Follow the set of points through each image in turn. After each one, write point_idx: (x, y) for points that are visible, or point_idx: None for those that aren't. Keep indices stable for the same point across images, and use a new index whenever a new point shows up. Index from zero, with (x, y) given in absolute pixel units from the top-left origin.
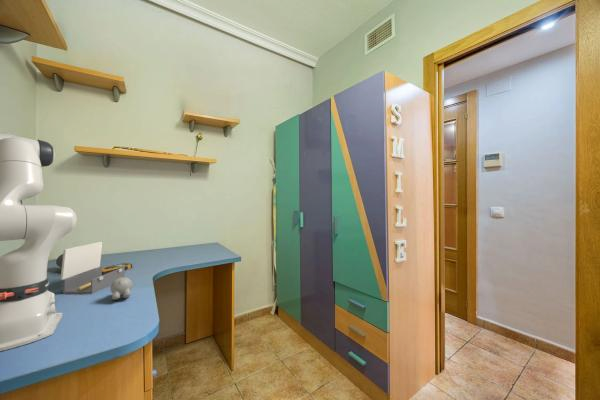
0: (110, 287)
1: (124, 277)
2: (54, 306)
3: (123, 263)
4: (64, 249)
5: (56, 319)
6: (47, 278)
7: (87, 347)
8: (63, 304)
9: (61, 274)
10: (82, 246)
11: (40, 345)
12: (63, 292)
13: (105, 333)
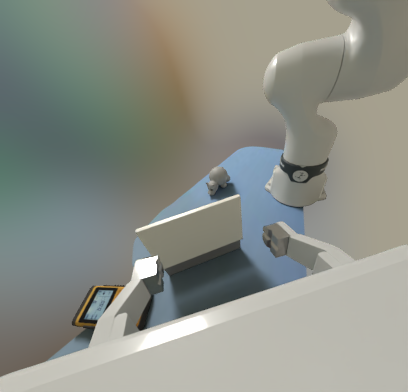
0: (226, 177)
1: (215, 168)
2: (276, 166)
3: (79, 315)
4: (239, 196)
5: (271, 179)
6: (282, 154)
7: (268, 152)
8: (254, 211)
9: (241, 232)
10: (198, 208)
11: None
12: (239, 246)
13: (257, 156)
